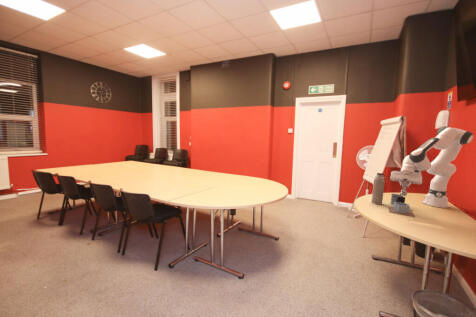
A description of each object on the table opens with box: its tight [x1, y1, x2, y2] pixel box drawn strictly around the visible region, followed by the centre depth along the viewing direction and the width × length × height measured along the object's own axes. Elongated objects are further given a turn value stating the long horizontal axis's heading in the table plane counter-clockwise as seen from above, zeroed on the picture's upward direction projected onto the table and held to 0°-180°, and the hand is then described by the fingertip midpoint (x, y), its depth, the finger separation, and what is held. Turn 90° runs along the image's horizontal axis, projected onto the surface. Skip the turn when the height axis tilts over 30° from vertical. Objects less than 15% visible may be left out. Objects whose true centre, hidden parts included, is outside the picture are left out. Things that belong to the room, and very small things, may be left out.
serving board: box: [387, 205, 416, 218], centre depth 176 cm, size 20×16×2 cm
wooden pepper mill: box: [371, 172, 386, 206], centre depth 194 cm, size 8×8×28 cm
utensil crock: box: [392, 202, 411, 214], centre depth 175 cm, size 10×10×6 cm
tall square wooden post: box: [399, 178, 408, 197], centre depth 173 cm, size 4×4×13 cm
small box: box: [390, 193, 406, 207], centre depth 190 cm, size 11×6×10 cm, turn 168°
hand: (404, 186), depth 173 cm, fingers closed on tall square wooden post, 2 cm apart
